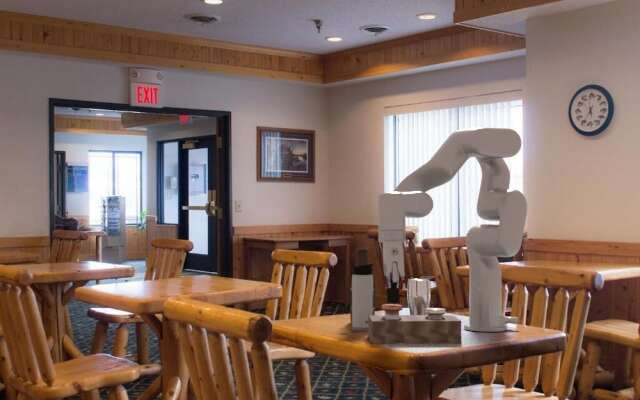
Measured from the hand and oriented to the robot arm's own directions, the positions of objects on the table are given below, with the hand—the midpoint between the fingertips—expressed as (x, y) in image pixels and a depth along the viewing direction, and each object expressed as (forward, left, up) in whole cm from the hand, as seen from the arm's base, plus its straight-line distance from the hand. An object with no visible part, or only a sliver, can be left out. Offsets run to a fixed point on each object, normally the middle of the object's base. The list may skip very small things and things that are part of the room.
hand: (393, 302), depth 210 cm
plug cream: (-12, 0, -10) cm, 15 cm away
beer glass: (-10, -19, -11) cm, 24 cm away
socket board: (-6, 0, -10) cm, 12 cm away
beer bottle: (+6, -33, -11) cm, 35 cm away
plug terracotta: (0, 0, -9) cm, 9 cm away
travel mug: (+7, -18, -11) cm, 22 cm away
